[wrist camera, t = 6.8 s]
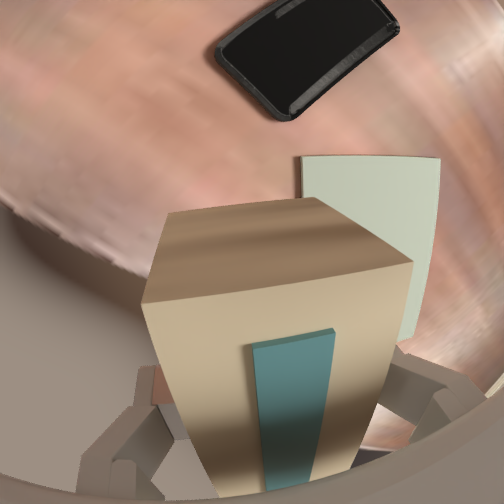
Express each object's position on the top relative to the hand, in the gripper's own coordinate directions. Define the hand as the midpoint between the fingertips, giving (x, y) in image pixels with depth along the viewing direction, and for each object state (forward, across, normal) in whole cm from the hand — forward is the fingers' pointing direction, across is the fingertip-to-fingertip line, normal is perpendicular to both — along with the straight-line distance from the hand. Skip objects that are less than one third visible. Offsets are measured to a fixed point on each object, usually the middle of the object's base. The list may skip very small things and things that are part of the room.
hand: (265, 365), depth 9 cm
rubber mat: (+15, -13, +6) cm, 20 cm away
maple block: (+2, 0, 0) cm, 2 cm away
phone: (+15, -8, -14) cm, 23 cm away
